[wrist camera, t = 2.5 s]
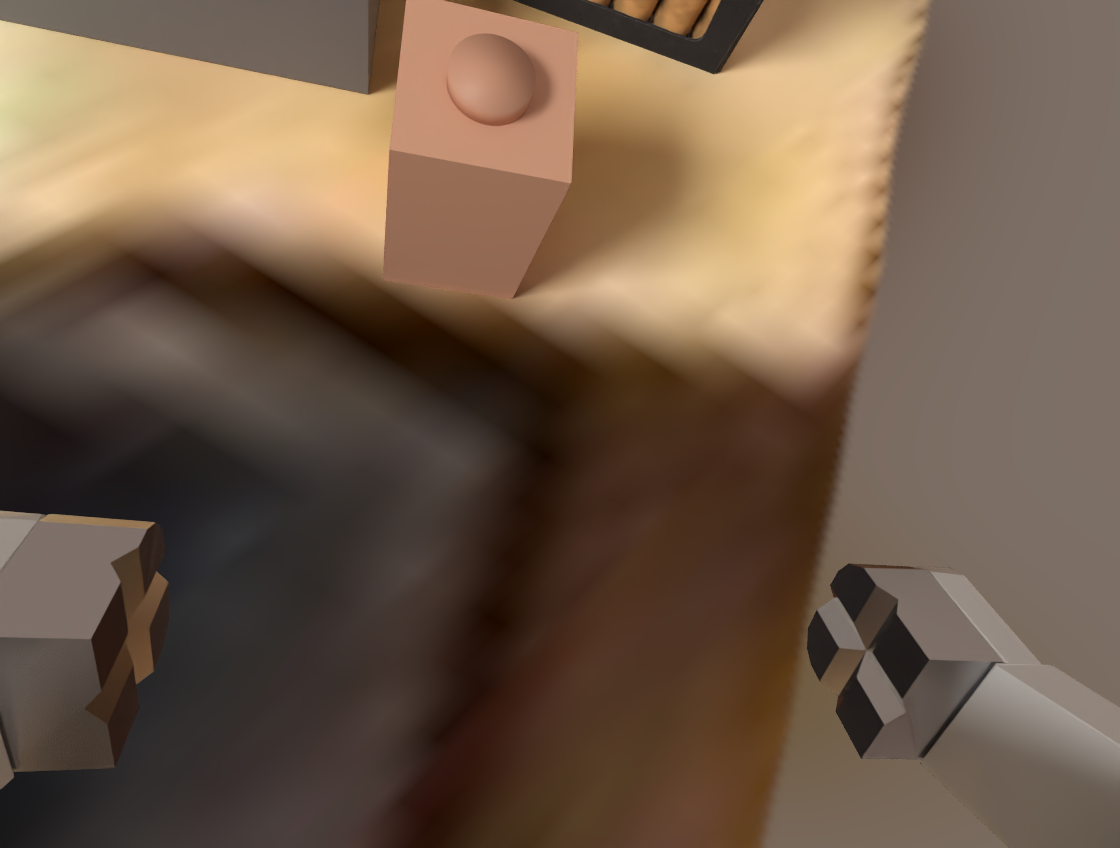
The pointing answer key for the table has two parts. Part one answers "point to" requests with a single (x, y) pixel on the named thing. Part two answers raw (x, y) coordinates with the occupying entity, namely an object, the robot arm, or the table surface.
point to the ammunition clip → (664, 25)
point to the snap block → (476, 146)
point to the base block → (227, 32)
